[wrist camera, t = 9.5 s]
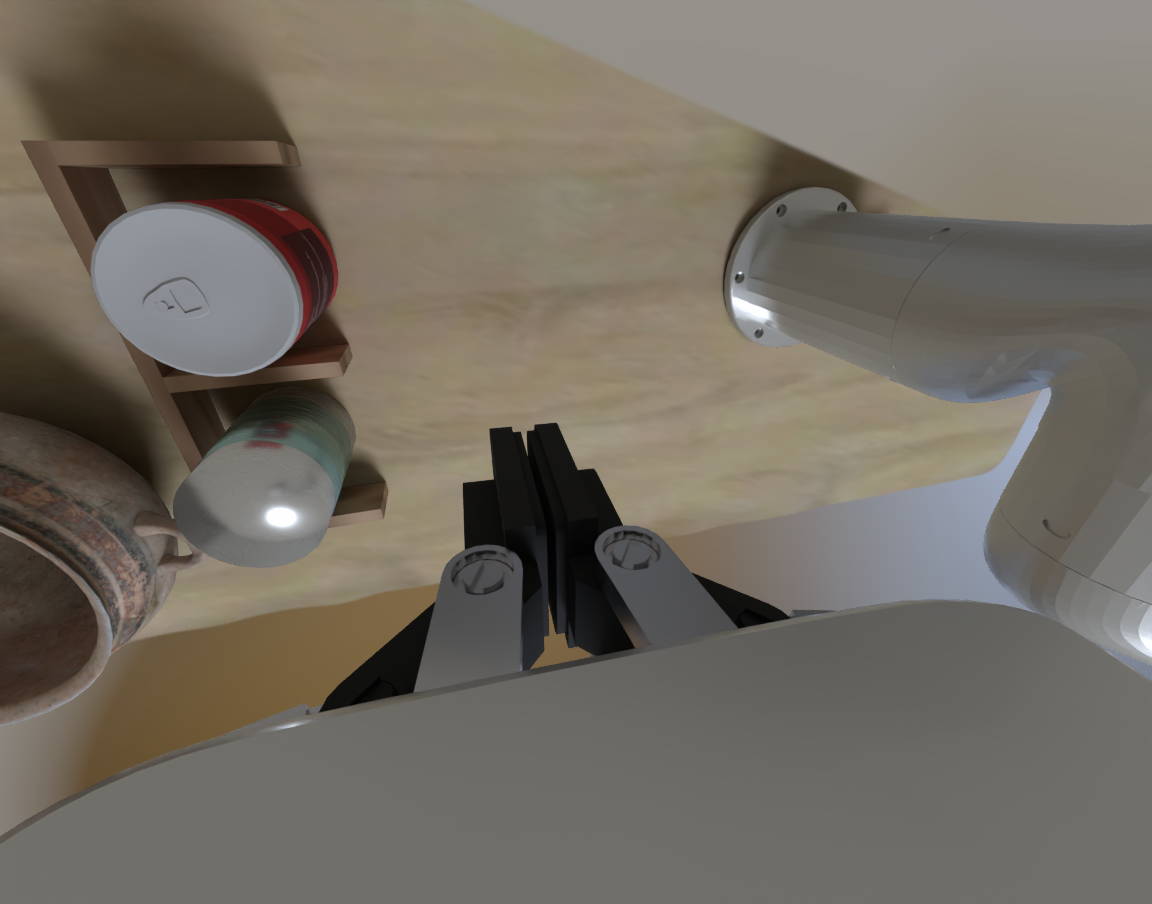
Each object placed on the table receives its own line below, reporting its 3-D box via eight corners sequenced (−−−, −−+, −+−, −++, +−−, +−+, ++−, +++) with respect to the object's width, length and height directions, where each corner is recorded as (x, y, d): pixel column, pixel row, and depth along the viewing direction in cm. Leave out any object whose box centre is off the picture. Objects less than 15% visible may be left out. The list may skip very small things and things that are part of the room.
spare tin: (341, 379, 35) (306, 449, 25) (366, 466, 39) (344, 555, 29) (226, 391, 33) (144, 470, 24) (264, 480, 37) (206, 579, 28)
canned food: (169, 241, 28) (38, 268, 19) (276, 169, 28) (195, 160, 19) (271, 345, 32) (205, 408, 23) (366, 283, 32) (336, 323, 23)
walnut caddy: (296, 146, 28) (276, 140, 24) (388, 491, 40) (383, 519, 37) (76, 146, 25) (20, 140, 22) (246, 512, 38) (228, 543, 34)
